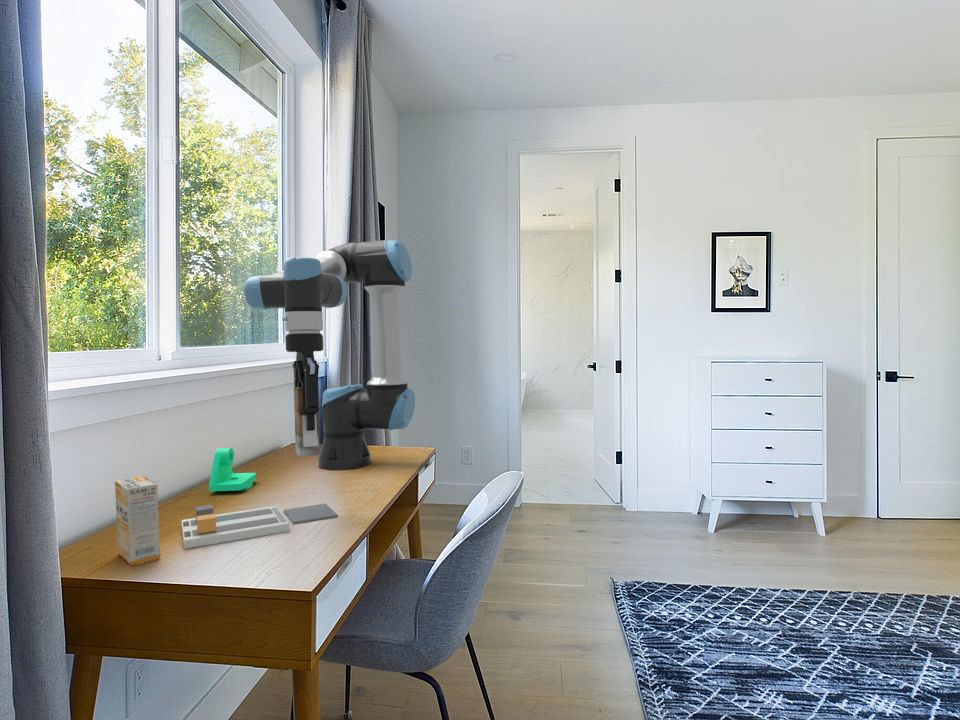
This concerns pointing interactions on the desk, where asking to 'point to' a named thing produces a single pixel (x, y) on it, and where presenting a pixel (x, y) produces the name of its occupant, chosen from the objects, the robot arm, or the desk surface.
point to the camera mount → (228, 473)
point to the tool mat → (310, 513)
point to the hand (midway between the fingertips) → (307, 444)
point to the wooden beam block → (299, 427)
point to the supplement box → (137, 520)
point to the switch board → (236, 527)
